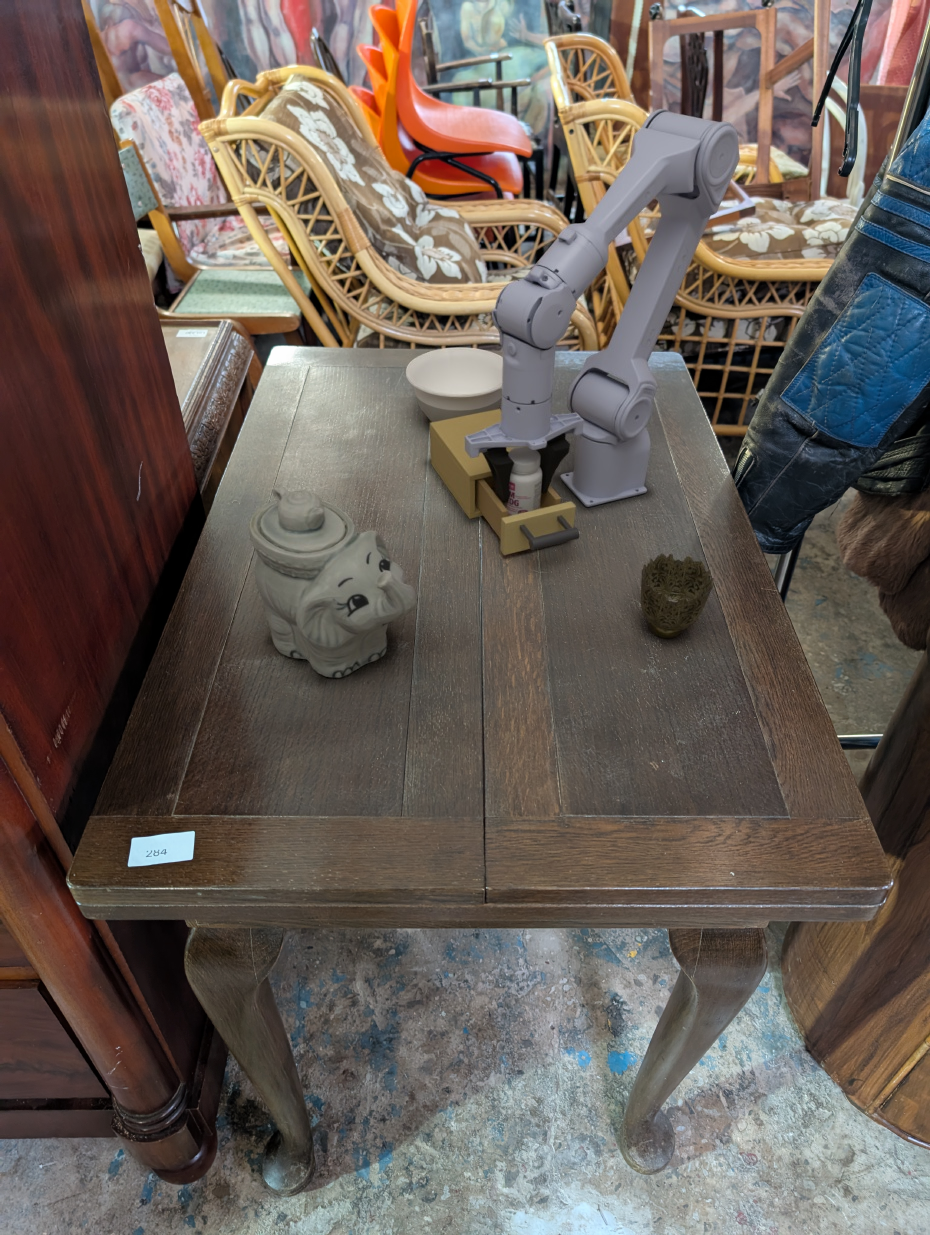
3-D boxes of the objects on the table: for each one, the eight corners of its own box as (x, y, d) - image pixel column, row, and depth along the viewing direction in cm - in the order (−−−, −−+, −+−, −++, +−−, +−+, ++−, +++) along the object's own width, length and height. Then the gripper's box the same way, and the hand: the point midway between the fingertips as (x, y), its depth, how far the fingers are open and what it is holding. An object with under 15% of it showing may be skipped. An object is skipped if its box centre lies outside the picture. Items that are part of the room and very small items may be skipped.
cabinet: (542, 501, 107) (545, 459, 102) (469, 519, 104) (469, 476, 100) (498, 449, 117) (499, 408, 112) (431, 463, 114) (429, 422, 110)
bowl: (419, 454, 116) (416, 400, 110) (400, 403, 127) (396, 352, 121) (523, 441, 119) (526, 388, 113) (495, 392, 130) (497, 342, 124)
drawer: (589, 557, 97) (593, 525, 93) (518, 576, 94) (520, 543, 91) (526, 482, 109) (528, 452, 105) (463, 497, 106) (462, 466, 103)
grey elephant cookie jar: (423, 693, 82) (415, 548, 69) (275, 719, 79) (238, 573, 66) (397, 591, 93) (386, 451, 81) (267, 610, 91) (234, 469, 78)
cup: (703, 615, 90) (718, 560, 85) (695, 659, 85) (710, 604, 80) (637, 601, 92) (648, 546, 87) (625, 643, 87) (636, 588, 81)
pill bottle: (496, 518, 100) (498, 460, 94) (509, 498, 103) (511, 441, 98) (532, 527, 99) (536, 468, 93) (544, 506, 102) (548, 449, 96)
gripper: (481, 421, 85) (480, 524, 94) (600, 396, 89) (588, 497, 98) (457, 392, 90) (458, 493, 99) (571, 370, 94) (562, 469, 103)
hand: (521, 493), depth 99 cm, fingers closed on pill bottle, 5 cm apart
